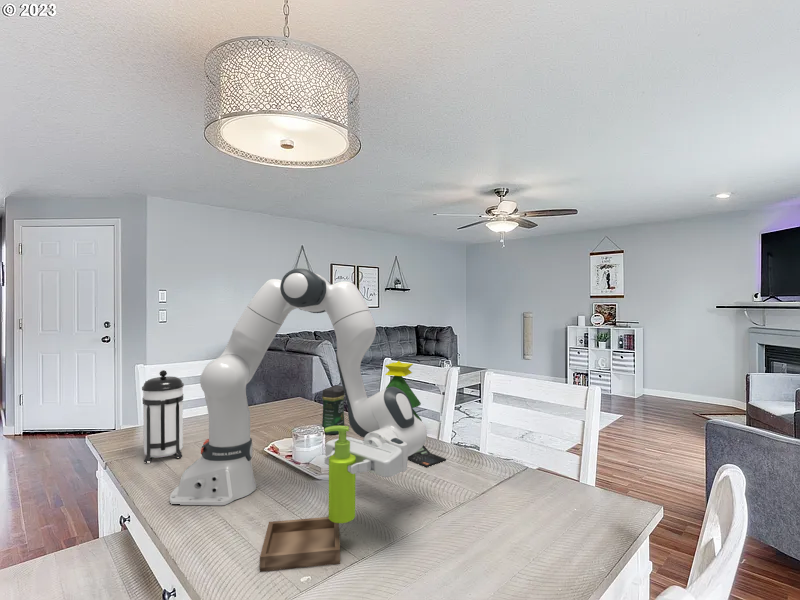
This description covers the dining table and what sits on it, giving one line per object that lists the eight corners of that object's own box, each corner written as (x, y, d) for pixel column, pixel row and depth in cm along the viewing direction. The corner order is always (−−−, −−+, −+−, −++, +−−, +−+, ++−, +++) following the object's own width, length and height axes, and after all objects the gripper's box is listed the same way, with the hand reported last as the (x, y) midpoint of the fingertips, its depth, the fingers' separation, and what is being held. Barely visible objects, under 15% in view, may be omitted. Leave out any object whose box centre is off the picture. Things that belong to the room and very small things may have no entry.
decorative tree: (365, 440, 168) (364, 362, 168) (385, 426, 186) (384, 356, 186) (412, 446, 161) (411, 365, 161) (428, 431, 179) (427, 358, 179)
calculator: (426, 468, 141) (426, 459, 141) (402, 458, 150) (402, 450, 150) (446, 461, 148) (446, 452, 148) (422, 452, 156) (422, 444, 156)
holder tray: (259, 571, 88) (259, 557, 88) (269, 534, 102) (268, 521, 102) (340, 563, 91) (340, 549, 91) (338, 528, 104) (338, 515, 104)
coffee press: (125, 462, 147) (124, 372, 147) (166, 446, 162) (166, 365, 162) (162, 469, 141) (162, 376, 140) (202, 453, 155) (201, 368, 155)
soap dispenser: (324, 510, 100) (325, 423, 99) (355, 509, 100) (356, 422, 100) (322, 524, 94) (323, 431, 94) (354, 522, 94) (355, 430, 94)
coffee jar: (336, 436, 174) (336, 389, 173) (319, 434, 176) (318, 388, 176) (347, 429, 183) (347, 385, 182) (331, 427, 185) (331, 383, 185)
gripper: (349, 427, 113) (307, 441, 102) (412, 444, 100) (372, 462, 90) (349, 451, 113) (307, 467, 102) (412, 472, 101) (371, 493, 90)
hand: (338, 465), depth 96 cm, fingers closed on soap dispenser, 6 cm apart
